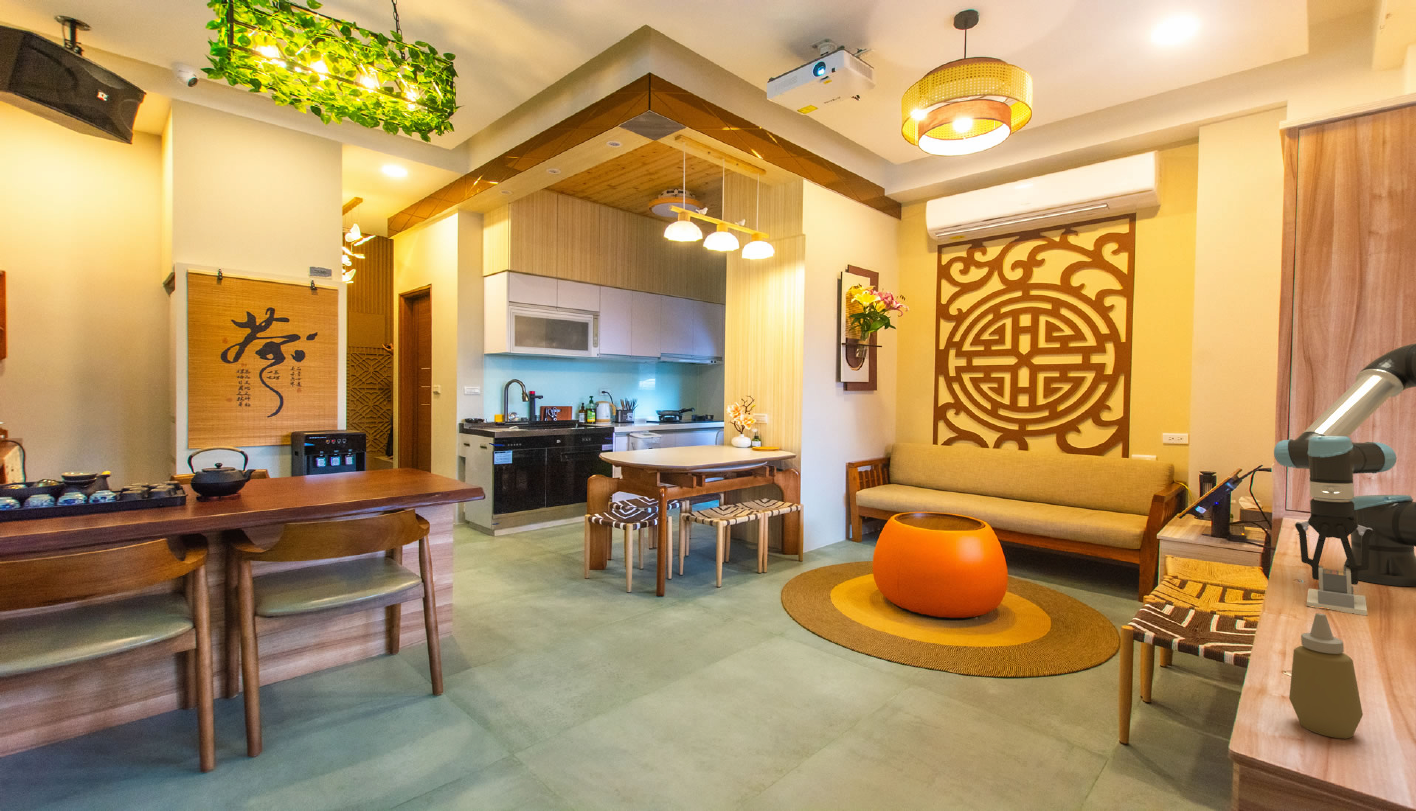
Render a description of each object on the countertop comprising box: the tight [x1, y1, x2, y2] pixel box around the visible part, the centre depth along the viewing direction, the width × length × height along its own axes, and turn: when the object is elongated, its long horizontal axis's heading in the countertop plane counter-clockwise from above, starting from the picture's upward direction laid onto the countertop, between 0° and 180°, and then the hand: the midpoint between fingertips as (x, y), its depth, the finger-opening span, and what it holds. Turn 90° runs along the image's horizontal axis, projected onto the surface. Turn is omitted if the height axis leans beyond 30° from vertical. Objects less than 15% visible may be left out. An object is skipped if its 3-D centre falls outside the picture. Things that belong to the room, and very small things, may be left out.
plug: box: [1323, 567, 1347, 594], centre depth 148 cm, size 6×4×6 cm, turn 134°
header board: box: [1306, 585, 1368, 616], centre depth 149 cm, size 14×10×4 cm
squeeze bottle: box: [1288, 612, 1364, 739], centre depth 95 cm, size 8×8×18 cm
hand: (1335, 594), depth 148 cm, fingers closed on plug, 4 cm apart
